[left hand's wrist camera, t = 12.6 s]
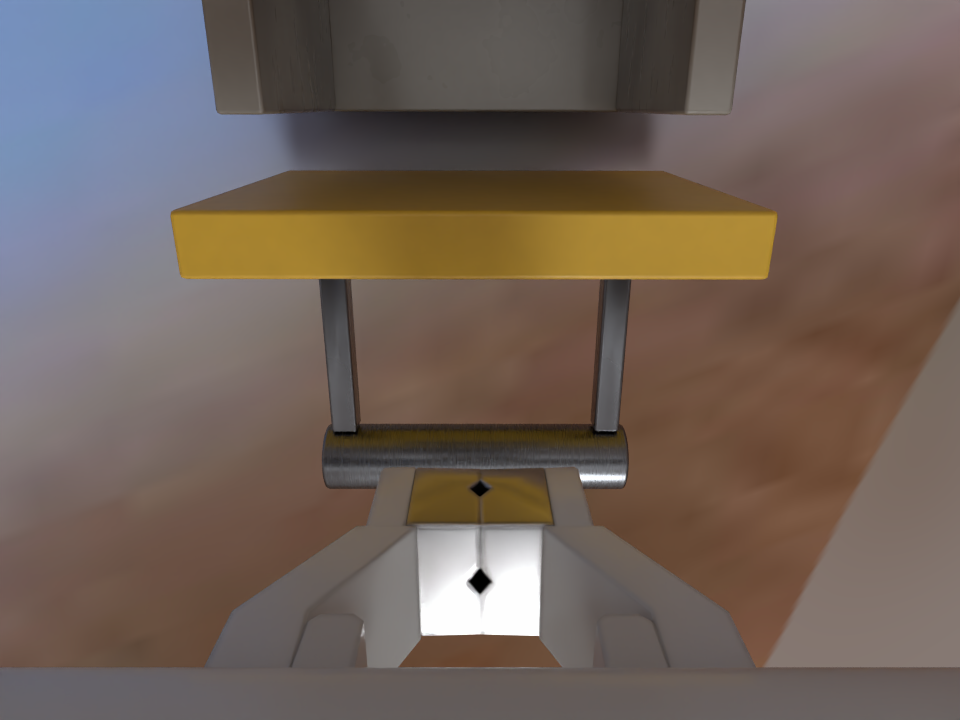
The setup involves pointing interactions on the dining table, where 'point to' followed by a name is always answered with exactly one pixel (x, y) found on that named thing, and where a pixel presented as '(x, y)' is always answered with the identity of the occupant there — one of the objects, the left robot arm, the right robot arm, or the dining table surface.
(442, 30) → the drawer
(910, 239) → the dining table surface
